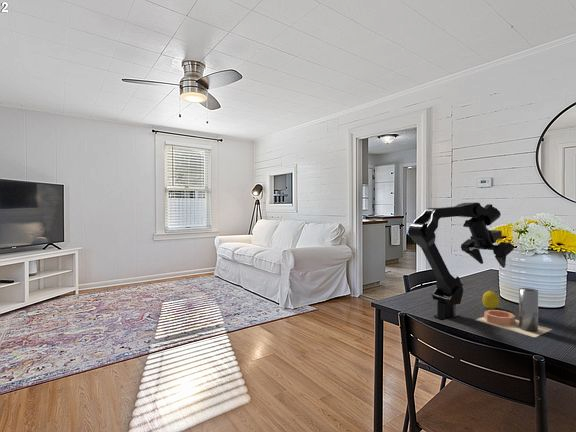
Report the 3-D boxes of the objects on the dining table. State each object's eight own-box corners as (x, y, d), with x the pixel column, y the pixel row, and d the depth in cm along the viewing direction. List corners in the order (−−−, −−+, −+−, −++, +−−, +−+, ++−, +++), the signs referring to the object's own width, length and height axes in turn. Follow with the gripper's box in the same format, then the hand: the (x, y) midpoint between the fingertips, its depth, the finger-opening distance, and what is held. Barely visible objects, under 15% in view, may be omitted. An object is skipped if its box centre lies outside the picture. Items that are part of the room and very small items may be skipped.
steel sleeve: (533, 333, 102) (533, 292, 102) (516, 328, 107) (515, 289, 106) (541, 329, 105) (541, 290, 104) (523, 325, 109) (523, 286, 109)
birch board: (534, 340, 99) (534, 337, 99) (474, 322, 115) (474, 319, 115) (552, 332, 105) (552, 329, 105) (493, 316, 121) (493, 313, 121)
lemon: (479, 309, 129) (479, 289, 129) (489, 307, 131) (488, 288, 131) (492, 313, 124) (492, 292, 124) (502, 311, 126) (502, 291, 126)
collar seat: (506, 327, 108) (505, 319, 108) (480, 319, 115) (480, 312, 115) (519, 322, 112) (519, 315, 112) (493, 315, 119) (493, 308, 119)
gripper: (516, 222, 119) (529, 257, 122) (471, 220, 137) (484, 251, 139) (497, 237, 116) (511, 273, 119) (454, 233, 133) (467, 265, 136)
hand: (492, 265), depth 128 cm, fingers open, 9 cm apart
